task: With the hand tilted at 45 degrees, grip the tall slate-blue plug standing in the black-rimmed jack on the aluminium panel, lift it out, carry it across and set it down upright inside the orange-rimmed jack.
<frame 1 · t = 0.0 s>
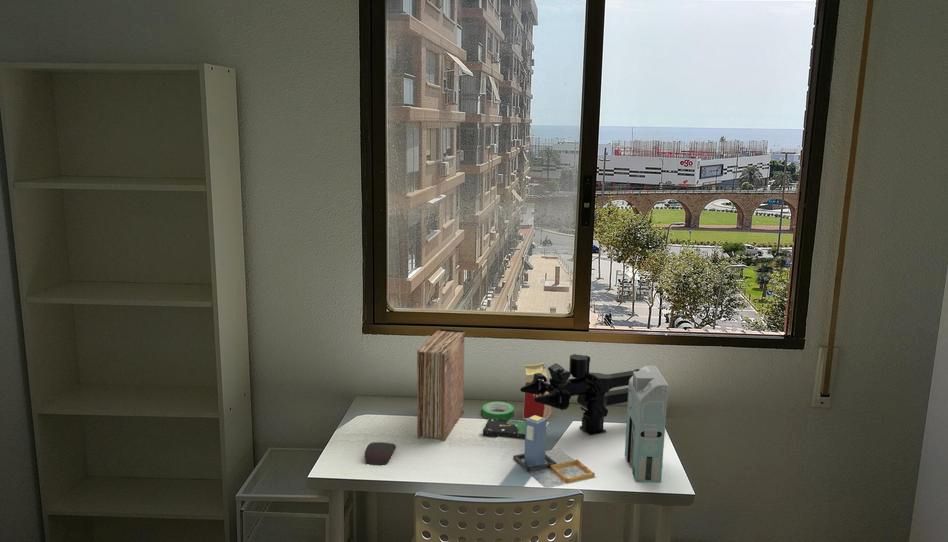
hand: (527, 394, 248), 17 cm above the table, tool horizontal, fingers open, 9 cm apart
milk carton: (535, 416, 273), on the table
disk drive: (507, 434, 260), on the table
device: (642, 470, 235), on the table
book: (441, 425, 265), on the table
tape roll: (498, 415, 275), on the table
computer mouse: (380, 456, 242), on the table
panel: (552, 468, 234), on the table
plug: (534, 462, 237), resting on panel
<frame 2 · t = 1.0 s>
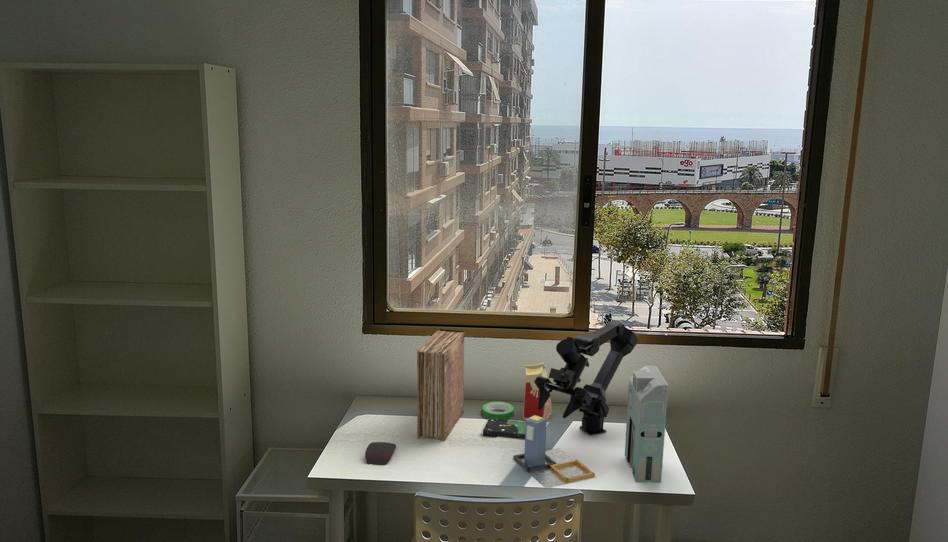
hand: (551, 413, 240), 14 cm above the table, tool tilted 45°, fingers open, 9 cm apart
nothing on the table moved.
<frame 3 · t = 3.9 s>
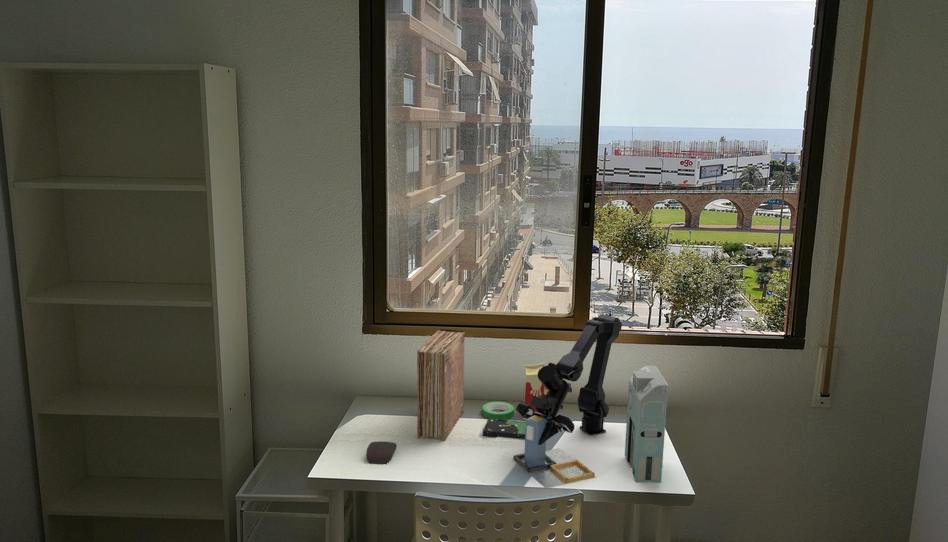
hand: (532, 442, 234), 8 cm above the table, tool tilted 45°, fingers closed on plug, 4 cm apart
plug: (534, 462, 237), resting on panel, touching gripper
when the fingers open (9 cm above the table, at t = 7.1 s): plug drops 1 cm, resting on panel.
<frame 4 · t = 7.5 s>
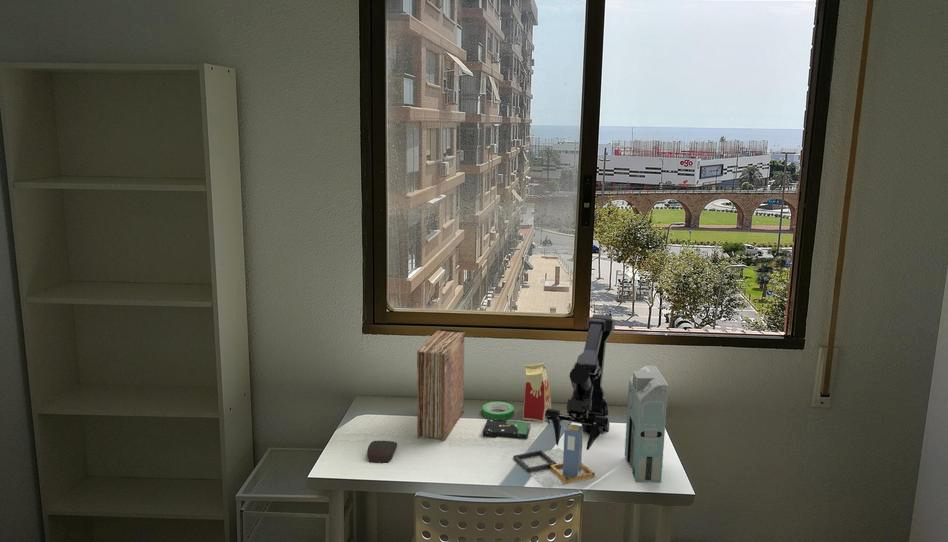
hand: (572, 447, 228), 9 cm above the table, tool tilted 45°, fingers open, 9 cm apart
plug: (571, 472, 231), resting on panel
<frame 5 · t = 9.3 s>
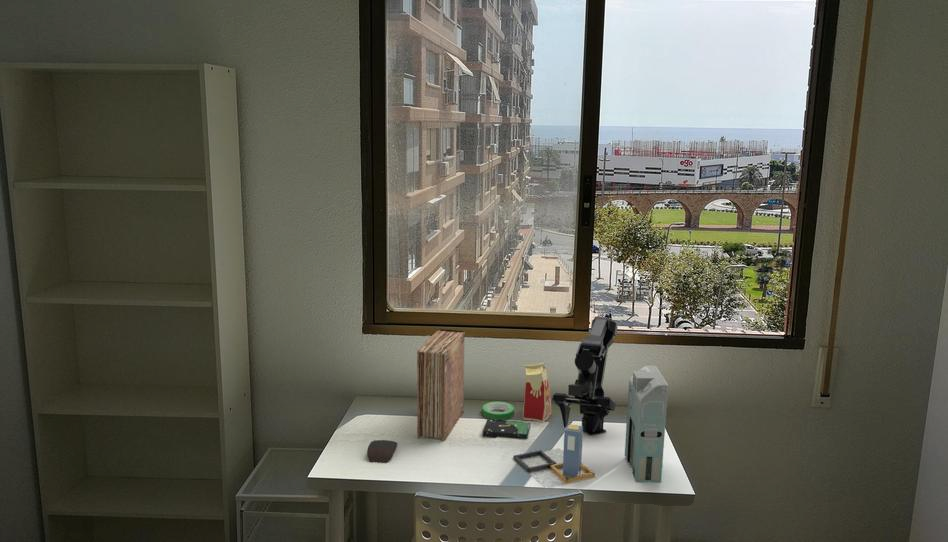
hand: (579, 429, 236), 11 cm above the table, tool tilted 35°, fingers open, 9 cm apart
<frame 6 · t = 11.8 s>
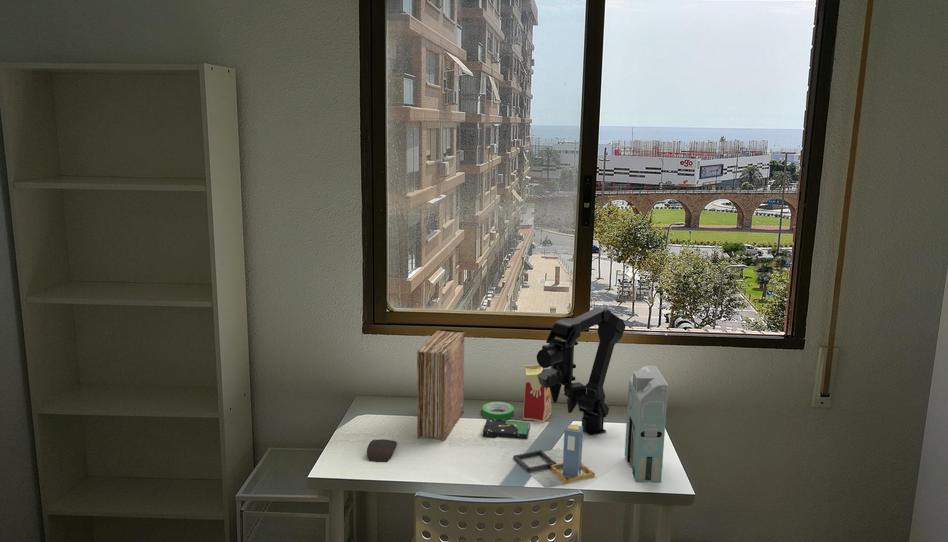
hand: (562, 407, 247), 13 cm above the table, tool pointing down, fingers open, 9 cm apart
at the end: plug inside the target area on the panel (0.0 cm from its centre), point 0.5 cm above the panel's base; plug tilted 0°; the gripper is holding nothing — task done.
